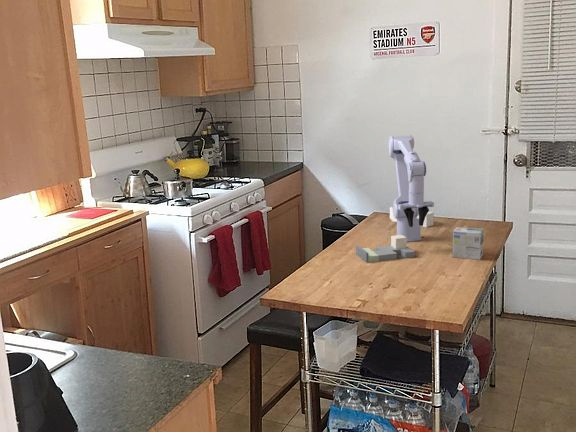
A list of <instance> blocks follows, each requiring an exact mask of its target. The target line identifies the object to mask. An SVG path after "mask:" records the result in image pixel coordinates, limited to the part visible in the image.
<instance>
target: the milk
mask: <svg viewBox="0 0 576 432" xmlns="http://www.w3.org/2000/svg"><path fill="white" fill-rule="evenodd" d="M434 214H435V213H434V211H429V212H428V213H427V215H426V217H425V220H424V223H423V226H421V228H429V227H431V226H434V220H435V219H434ZM417 218H418V219H419V215H418V216H417ZM389 219H390V220H391V222H392V223H393V222H394V223H397V219H396V218H395V217H394V215H393V206H389Z"/></svg>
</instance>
